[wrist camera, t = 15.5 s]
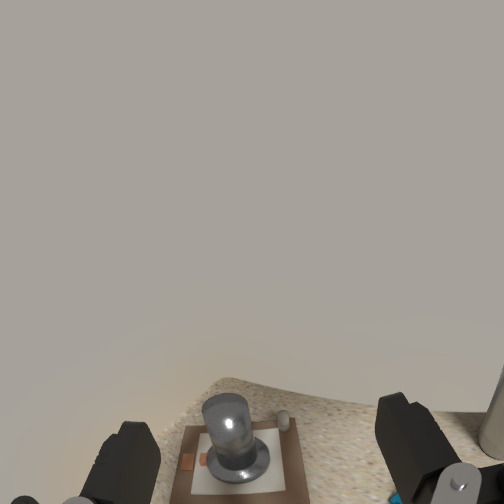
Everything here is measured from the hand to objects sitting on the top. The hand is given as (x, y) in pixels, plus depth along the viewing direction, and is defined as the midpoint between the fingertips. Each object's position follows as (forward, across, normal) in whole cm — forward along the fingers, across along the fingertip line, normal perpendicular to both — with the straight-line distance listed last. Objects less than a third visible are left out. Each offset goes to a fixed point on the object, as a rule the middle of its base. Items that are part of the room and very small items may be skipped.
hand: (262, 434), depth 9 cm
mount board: (+18, +5, +26) cm, 32 cm away
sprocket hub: (+18, +5, +25) cm, 31 cm away
